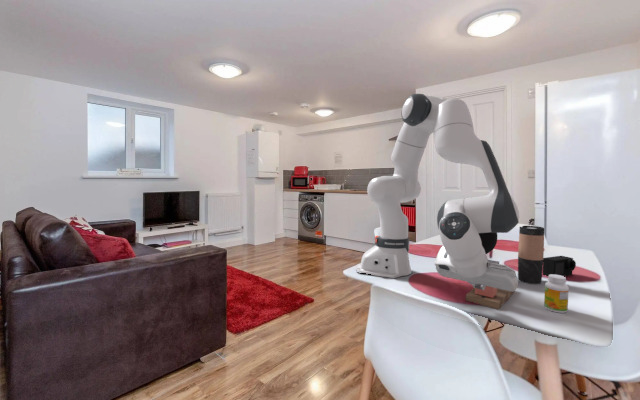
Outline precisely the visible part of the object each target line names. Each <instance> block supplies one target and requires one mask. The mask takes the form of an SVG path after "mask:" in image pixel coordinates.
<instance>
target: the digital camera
mask: <svg viewBox="0 0 640 400" xmlns="http://www.w3.org/2000/svg"><path fill="white" fill-rule="evenodd" d="M576 266H577V263H576V261H575V260H574V258H573V257H570V256H564V255H557V256H556V255H555V256H549V257H543V269H542V276H545V275H546V276H545V277H548V276H549V275H550V274H555V275H561V276H565V277H569V276H568V275H571V276H572V275H573V272H574V270H575V269H576Z"/></svg>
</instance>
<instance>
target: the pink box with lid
mask: <svg viewBox="0 0 640 400" xmlns="http://www.w3.org/2000/svg"><path fill="white" fill-rule="evenodd" d="M488 262H490V263H496V264H500V261H498V260H492V259H488ZM475 294H479V295H483V296H487V297H491V298H493V297H494V296H495V295H496V294H497V288H493V287H489V286H486V287H485V290H481V289H477V288H475Z"/></svg>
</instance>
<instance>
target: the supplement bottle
mask: <svg viewBox="0 0 640 400" xmlns="http://www.w3.org/2000/svg"><path fill="white" fill-rule="evenodd" d="M547 277H548V278H547V279H548V281H546V282H545V284H544V300H543V301H544V302H543V307H544V309H546V310H548V311H549V312H550V311H551V312H552V313H553V312H554V313H559V314H564V313H567V312H568V310H569V308H568V307H569V291H570V288H569V285H567V284H566V282H567V278H566V277H567V276H565V277H564V276H561V275H555V274H550V275H549V276H547Z"/></svg>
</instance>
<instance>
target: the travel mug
mask: <svg viewBox="0 0 640 400" xmlns="http://www.w3.org/2000/svg"><path fill="white" fill-rule="evenodd" d="M518 232H519V235H518V251H517V252H518V253H517V278H518V281H520V282H523V283H527V284H532V285H533V284H535V285H538V284H541V283H542V278H543V258H544V256H545V255H544V254H545V253H544V252H545V251H544V250H545V228H544V227H542V226H536V225H535V226H534V225H522V226H519V231H518Z"/></svg>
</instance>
